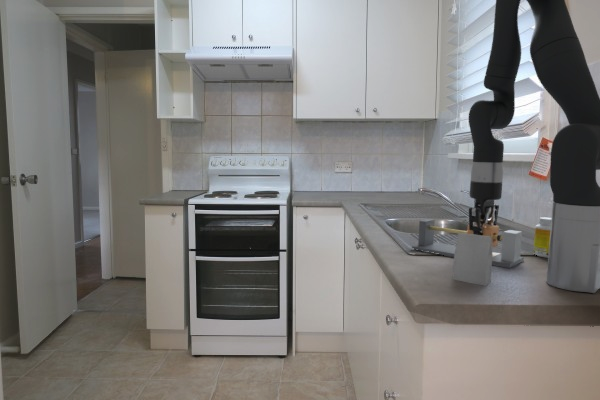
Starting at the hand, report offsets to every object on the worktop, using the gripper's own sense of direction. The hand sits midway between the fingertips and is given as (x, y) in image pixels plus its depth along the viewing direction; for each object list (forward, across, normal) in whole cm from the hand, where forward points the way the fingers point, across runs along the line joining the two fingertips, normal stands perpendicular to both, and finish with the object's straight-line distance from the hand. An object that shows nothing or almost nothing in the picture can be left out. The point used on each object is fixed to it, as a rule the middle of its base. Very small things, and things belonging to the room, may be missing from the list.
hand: (481, 245), depth 114 cm
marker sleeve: (0, 0, 0) cm, 0 cm away
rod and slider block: (+3, 0, +4) cm, 5 cm away
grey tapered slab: (+4, -22, -7) cm, 23 cm away
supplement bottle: (+4, +16, -11) cm, 20 cm away
